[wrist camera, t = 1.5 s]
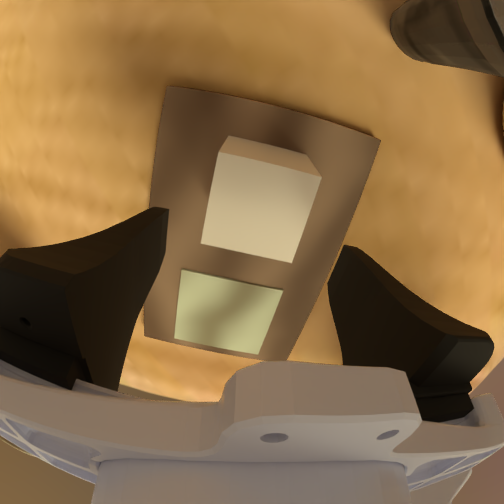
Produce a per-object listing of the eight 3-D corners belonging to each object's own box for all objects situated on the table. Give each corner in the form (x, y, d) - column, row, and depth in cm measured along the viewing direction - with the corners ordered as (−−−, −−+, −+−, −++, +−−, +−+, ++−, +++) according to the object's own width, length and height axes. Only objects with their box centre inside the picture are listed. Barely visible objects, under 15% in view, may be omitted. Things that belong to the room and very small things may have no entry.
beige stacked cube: (306, 154, 18) (321, 177, 14) (284, 223, 21) (291, 263, 16) (228, 135, 18) (218, 151, 13) (213, 207, 20) (200, 243, 16)
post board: (374, 137, 18) (404, 152, 14) (284, 354, 29) (286, 393, 25) (171, 85, 17) (146, 86, 13) (147, 327, 28) (134, 364, 24)
